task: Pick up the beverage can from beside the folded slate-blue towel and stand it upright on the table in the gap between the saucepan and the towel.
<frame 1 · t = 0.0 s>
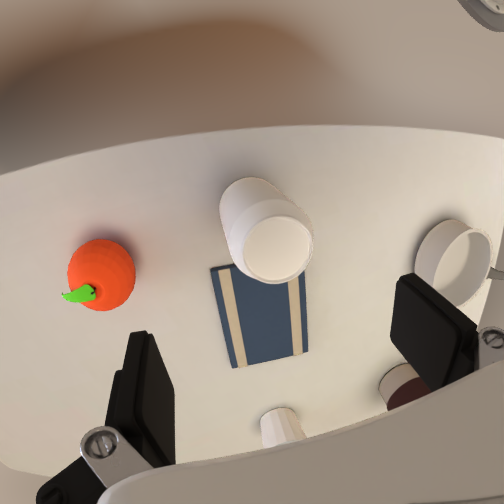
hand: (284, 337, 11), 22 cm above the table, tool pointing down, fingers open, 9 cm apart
beverage can: (248, 205, 33), on the table
towel: (263, 313, 38), on the table
coffee cup: (395, 377, 48), on the table
saucepan: (457, 257, 41), on the table
shot glass: (277, 417, 46), on the table
clementine: (105, 261, 32), on the table
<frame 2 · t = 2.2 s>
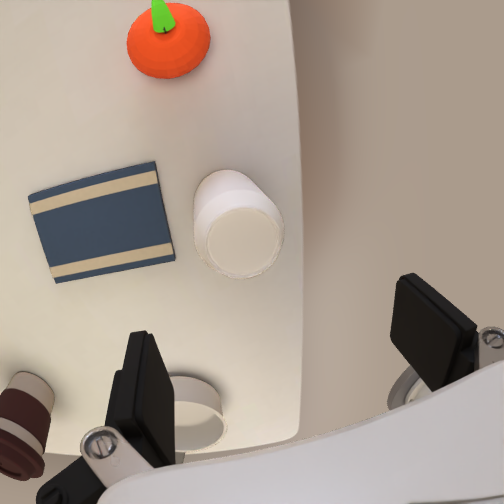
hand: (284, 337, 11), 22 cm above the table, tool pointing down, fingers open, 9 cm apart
beverage can: (225, 199, 32), on the table
towel: (99, 225, 30), on the table
coffee cup: (34, 387, 37), on the table
saucepan: (179, 415, 42), on the table
clementine: (169, 45, 25), on the table
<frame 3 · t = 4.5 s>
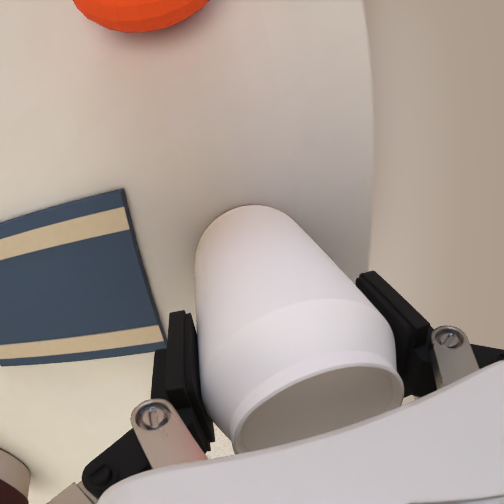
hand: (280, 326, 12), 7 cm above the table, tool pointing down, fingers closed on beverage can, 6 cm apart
beverage can: (248, 252, 19), on the table, touching gripper
towel: (44, 292, 17), on the table
coffee cup: (6, 459, 24), on the table
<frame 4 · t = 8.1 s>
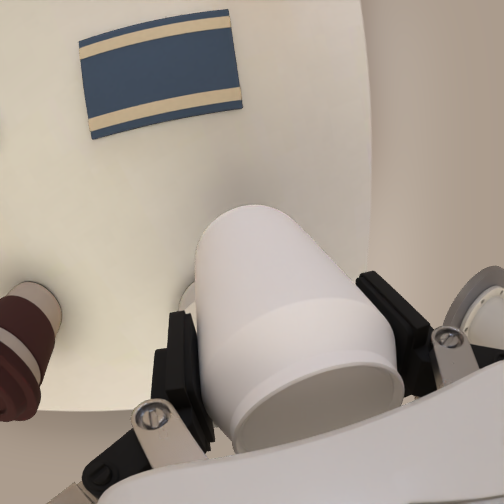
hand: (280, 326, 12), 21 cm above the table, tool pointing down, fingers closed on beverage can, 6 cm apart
beverage can: (249, 252, 19), point 13 cm above the table, touching gripper
towel: (158, 70, 25), on the table
coffee cup: (37, 306, 32), on the table
saucepan: (221, 338, 37), on the table
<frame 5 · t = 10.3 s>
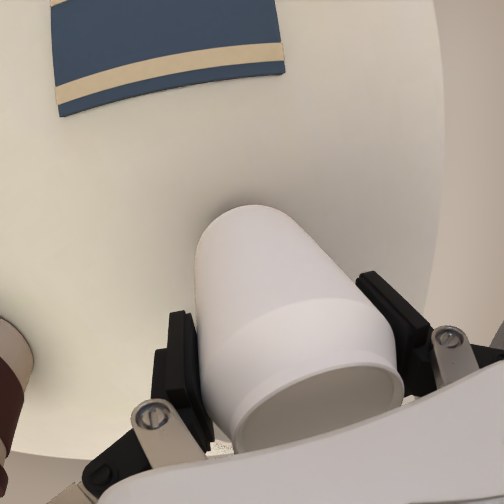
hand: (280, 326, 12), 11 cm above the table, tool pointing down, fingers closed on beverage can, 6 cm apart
beverage can: (248, 252, 19), point 3 cm above the table, touching gripper
towel: (160, 17, 15), on the table
coffee cup: (3, 344, 22), on the table
when the fingers open (7 cm above the table, at t = 11.8 s): beverage can stays where it is, on the table.
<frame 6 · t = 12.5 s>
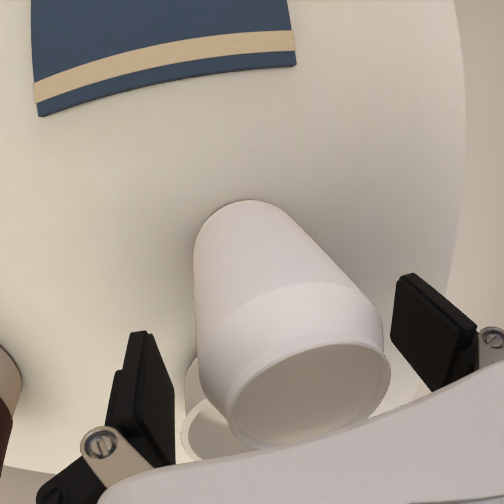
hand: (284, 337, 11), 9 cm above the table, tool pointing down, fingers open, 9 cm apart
beverage can: (245, 246, 19), on the table
towel: (152, 2, 13), on the table
saucepan: (245, 409, 25), on the table
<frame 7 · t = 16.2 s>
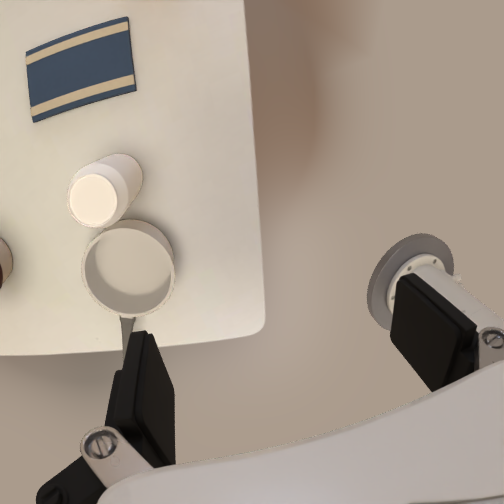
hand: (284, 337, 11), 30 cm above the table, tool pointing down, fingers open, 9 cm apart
beverage can: (120, 177, 37), on the table
towel: (78, 68, 30), on the table
saucepan: (132, 284, 42), on the table
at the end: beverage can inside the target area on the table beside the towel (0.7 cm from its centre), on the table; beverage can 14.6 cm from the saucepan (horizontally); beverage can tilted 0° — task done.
